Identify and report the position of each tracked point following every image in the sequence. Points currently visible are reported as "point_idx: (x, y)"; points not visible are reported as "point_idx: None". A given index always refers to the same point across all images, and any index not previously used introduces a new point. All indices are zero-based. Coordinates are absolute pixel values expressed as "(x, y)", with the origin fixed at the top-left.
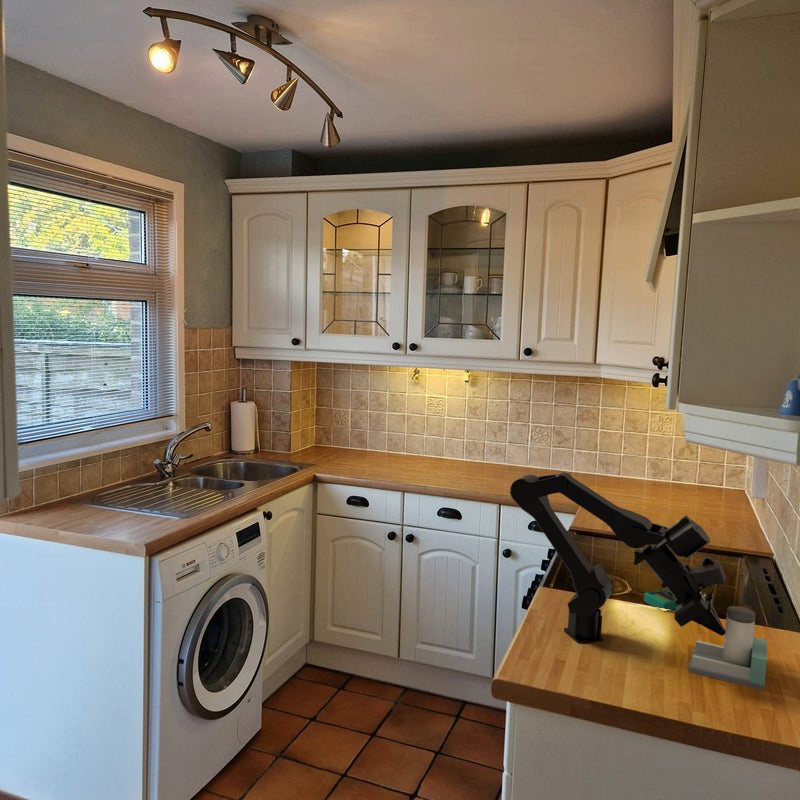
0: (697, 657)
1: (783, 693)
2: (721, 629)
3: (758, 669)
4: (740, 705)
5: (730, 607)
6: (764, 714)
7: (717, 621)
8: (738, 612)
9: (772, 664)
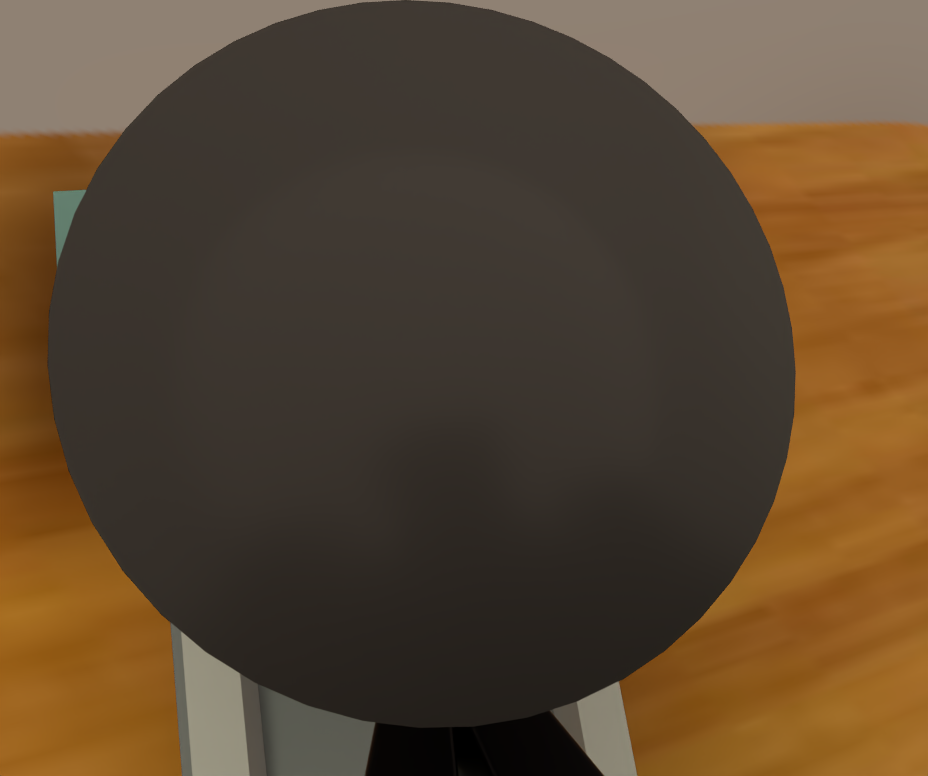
0: (626, 759)
1: None
2: None
3: None
4: (803, 365)
5: (370, 649)
6: (799, 247)
7: (598, 769)
8: (619, 364)
9: (21, 266)
